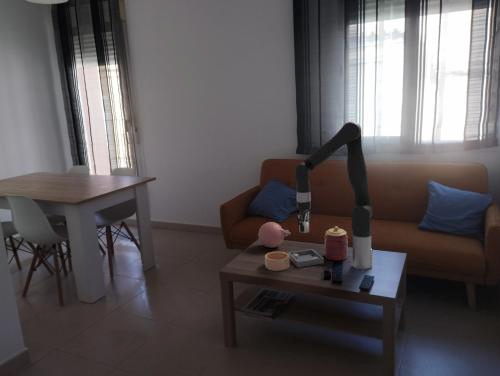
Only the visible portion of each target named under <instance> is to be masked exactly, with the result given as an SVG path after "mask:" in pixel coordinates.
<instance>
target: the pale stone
mask: <svg viewBox="0 0 500 376" xmlns="http://www.w3.org/2000/svg"><path fill="white" fill-rule="evenodd" d="M309 222H310V221H309ZM309 222H307V221H305V222H304V232H300V233H302V234H305V233H309V232H310V223H309ZM298 226H299V227H300V225H298Z"/></svg>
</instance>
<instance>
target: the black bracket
mask: <svg viewBox="0 0 500 376" xmlns="http://www.w3.org/2000/svg"><path fill="white" fill-rule="evenodd" d="M331 273H332V272H331V267H324V268H323V271H322V272H321V275H320V276H321V278H320V280H321V281H329V282H330V281H331Z"/></svg>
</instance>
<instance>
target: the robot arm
mask: <svg viewBox="0 0 500 376" xmlns="http://www.w3.org/2000/svg"><path fill="white" fill-rule="evenodd" d="M345 145H346V151H347V154H346V156H347V159H346V169H347V178H348V182H349V185H350V187H351V189H352V192H353V194H354V207H353V209H352V210H351V231H352V262H351V265H352V267H353V268H354V269H358V270H368V269H370V268H372V267H373V249H372V229H371V218H372V216H373V214H374V213H373V206H372V201H371V199H370V193H369V182H368V181H369V180H368V173H367V166H366V160H365V155H364V152H363V145H362V126H361V125H360V124H359V123H358V122H357V121H347V122H345V124H343V125H342V127H341V128H340V129H339V130H338V132H337V133H336V134H335V135H334V136H332V137H331V138H330V140H328V141H327V142H325V143H324V144H323V145H321V146H319V147H318V148H317V149H316V150H315V151H313V152H312V153H311V154H309V156H308V157H307V158H306V159H304V160H303V161H301V162H299V164H297V165H296V167H295V169H294V175H295V181H296V209H297V210H299V211H298V212H299V213H298V214H297V215H296V221H297V222H296V223H297V225H298V226H299V225H300V226H299V233H301V232H304V222H305V221H307V222H310V221H311V214H312V213H311V211H312V210H311V208H312V202H311V201H312V195H311V183H310V181H309V174H310V173H312V172H313V170H315V169H316V168H317V167H319V166H321V164H323V163H325V162H326V161H327V160H328V159H329V158H330V157H331V156H332V155H333V154H335V153H336V151H338V150H339V149H340V148H342V147H343V146H345Z"/></svg>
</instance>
